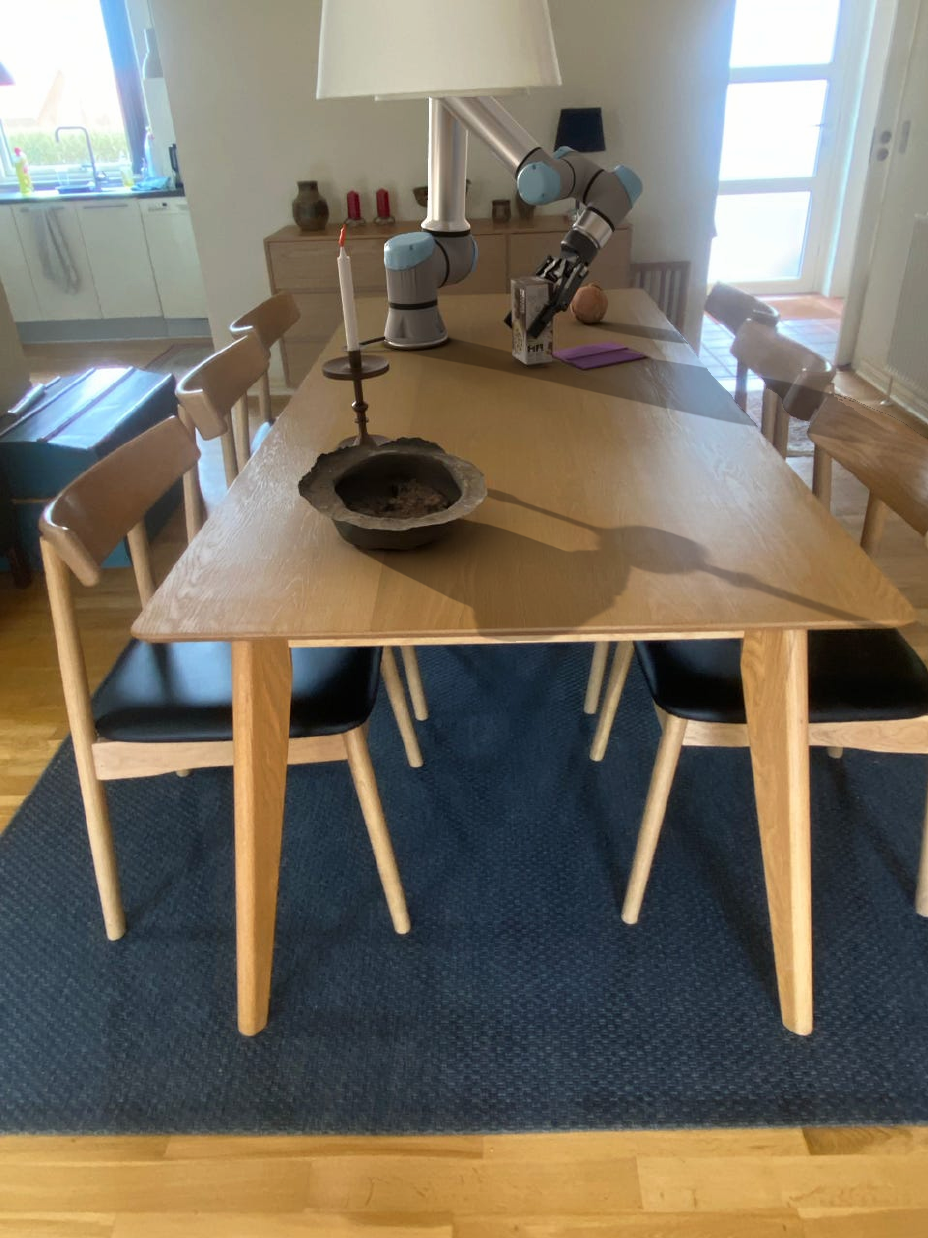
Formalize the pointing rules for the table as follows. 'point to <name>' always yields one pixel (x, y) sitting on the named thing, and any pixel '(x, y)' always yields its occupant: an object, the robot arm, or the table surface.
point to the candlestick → (354, 358)
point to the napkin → (598, 355)
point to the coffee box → (530, 319)
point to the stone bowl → (393, 492)
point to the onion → (589, 304)
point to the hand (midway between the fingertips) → (519, 329)
